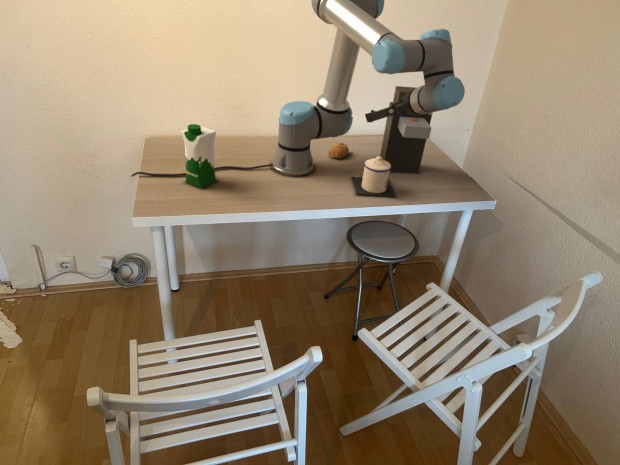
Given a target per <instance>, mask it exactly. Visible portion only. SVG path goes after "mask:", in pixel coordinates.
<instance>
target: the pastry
mask: <svg viewBox="0 0 620 465" xmlns="http://www.w3.org/2000/svg"><path fill="white" fill-rule="evenodd" d="M349 152H350V150H349V147H348V145H347V144H346V143H344V142H337V143H335V144H334V145H333V146H332V147H331V149H330V156H331V158H336V159H342V158H345V157H346V156H347V155H348V153H349Z"/></svg>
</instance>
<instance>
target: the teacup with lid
mask: <svg viewBox="0 0 620 465" xmlns="http://www.w3.org/2000/svg"><path fill="white" fill-rule="evenodd" d="M363 166H364V168H363V174H362V177H363V180H362V188H363V189H364V190H366V191H368V192H371V193H382V192H384V191H385V190H386V188H387V182H388V181H389V176H390V173H391V172H390V169H391V165H390V163H388V162H387V161H385V160H383V159H382V157H380V155H377V156H376V157H375V158H369V159H367V160H365V162H364V165H363Z"/></svg>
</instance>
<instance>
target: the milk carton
mask: <svg viewBox="0 0 620 465" xmlns="http://www.w3.org/2000/svg"><path fill="white" fill-rule="evenodd" d="M216 134H217V131H216V130H214V129H211V128H208V127H205V126H202V125H200V124H198V123H197V124H196V123H192V124H188V125H187V128H186V129H184V130H181V135H182V136H181V137H182V139H183V142H184V158H185V173H186V175H185V183H186V184H189V185H191V186H194V187H197V188H199V189H205V188H206V187H208V186H210V185H212V184H214V183H216V182H217V181H216V180H217V178H216V170H214V168H215V140H216Z"/></svg>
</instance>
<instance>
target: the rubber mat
mask: <svg viewBox="0 0 620 465" xmlns="http://www.w3.org/2000/svg"><path fill="white" fill-rule="evenodd" d="M362 180H363V176H352V181H353V182H352V183H353V184H354V189H355V192H356V196H364V197H381V198H382V197H384V198H395V197H396V196H395V193H394V190H393V188H392V186H391V183H390V181H389V180H388V182H387V188H386V190H385V191H384V192H382V193H371V192H368V191H366V190H364V189H363V188H362Z"/></svg>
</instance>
